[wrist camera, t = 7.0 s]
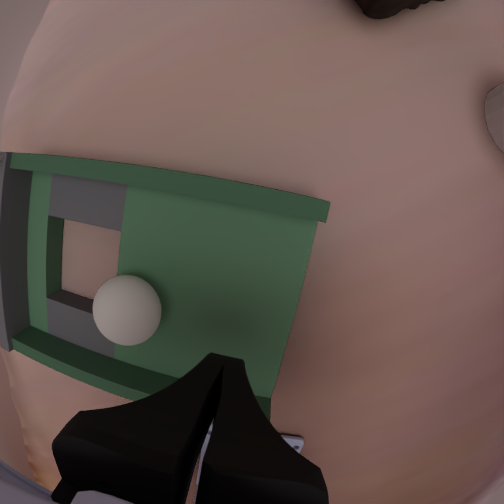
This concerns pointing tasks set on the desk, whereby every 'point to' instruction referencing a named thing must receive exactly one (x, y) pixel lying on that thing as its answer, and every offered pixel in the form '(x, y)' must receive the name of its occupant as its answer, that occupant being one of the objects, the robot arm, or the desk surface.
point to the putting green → (153, 269)
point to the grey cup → (495, 115)
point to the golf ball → (127, 310)
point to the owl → (387, 7)
